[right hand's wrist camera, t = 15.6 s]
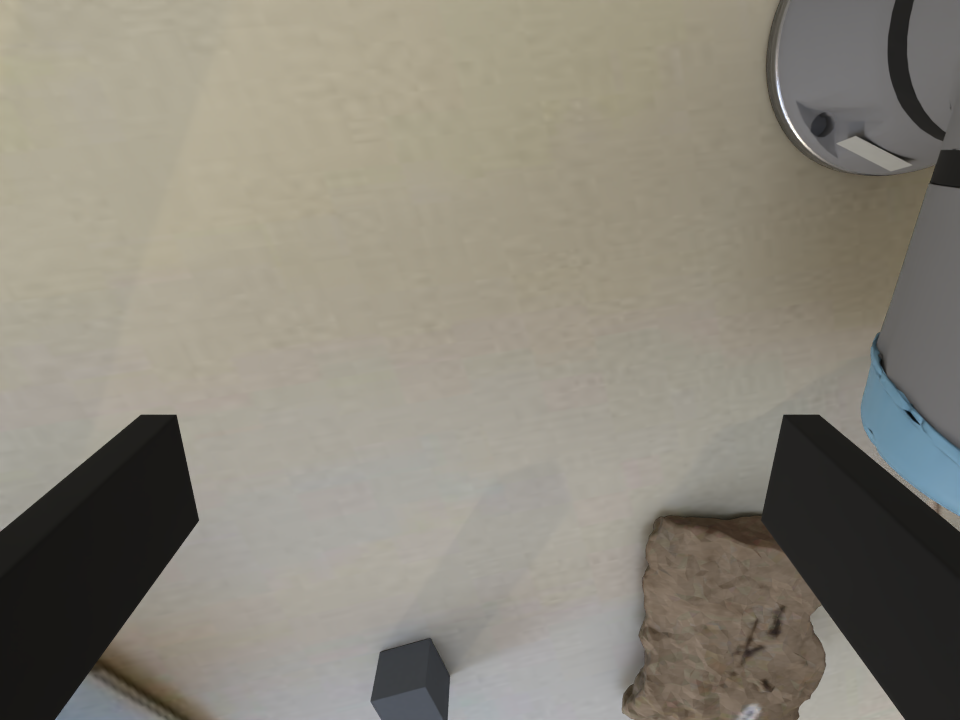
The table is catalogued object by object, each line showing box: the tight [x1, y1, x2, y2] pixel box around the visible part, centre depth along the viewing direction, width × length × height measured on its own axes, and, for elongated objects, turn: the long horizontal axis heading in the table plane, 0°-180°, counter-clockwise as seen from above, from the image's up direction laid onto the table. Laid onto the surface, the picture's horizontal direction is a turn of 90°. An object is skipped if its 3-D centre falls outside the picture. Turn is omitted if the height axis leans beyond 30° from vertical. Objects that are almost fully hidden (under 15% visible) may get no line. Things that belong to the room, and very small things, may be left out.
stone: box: [622, 515, 826, 720], centre depth 49 cm, size 21×15×6 cm
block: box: [371, 638, 450, 720], centre depth 51 cm, size 5×5×5 cm
